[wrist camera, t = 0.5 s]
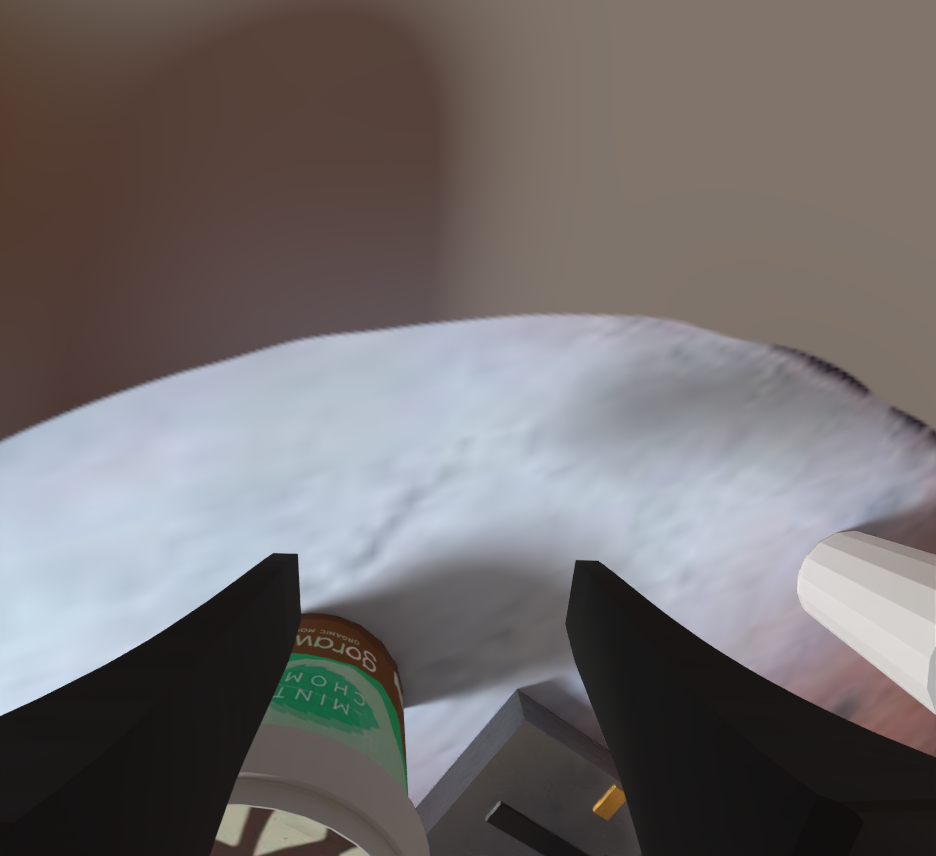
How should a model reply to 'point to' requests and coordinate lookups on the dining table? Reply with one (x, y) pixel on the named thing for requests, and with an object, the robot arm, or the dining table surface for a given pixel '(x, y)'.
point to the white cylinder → (877, 605)
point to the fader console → (529, 792)
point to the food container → (327, 756)
